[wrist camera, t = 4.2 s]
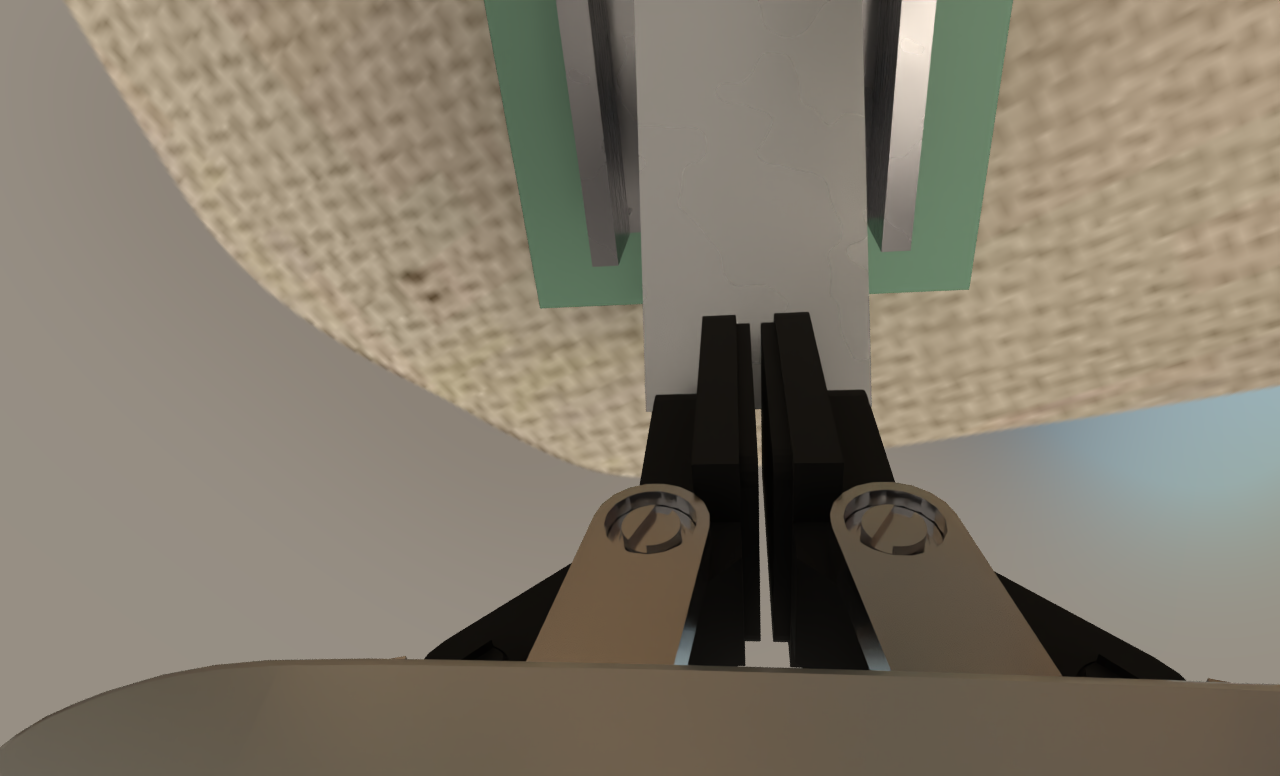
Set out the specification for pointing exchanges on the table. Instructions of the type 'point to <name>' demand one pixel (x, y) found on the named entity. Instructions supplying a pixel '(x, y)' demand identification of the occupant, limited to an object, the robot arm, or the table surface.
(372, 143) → the table surface
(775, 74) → the clamp bar
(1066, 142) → the table surface
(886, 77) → the heat sink board
